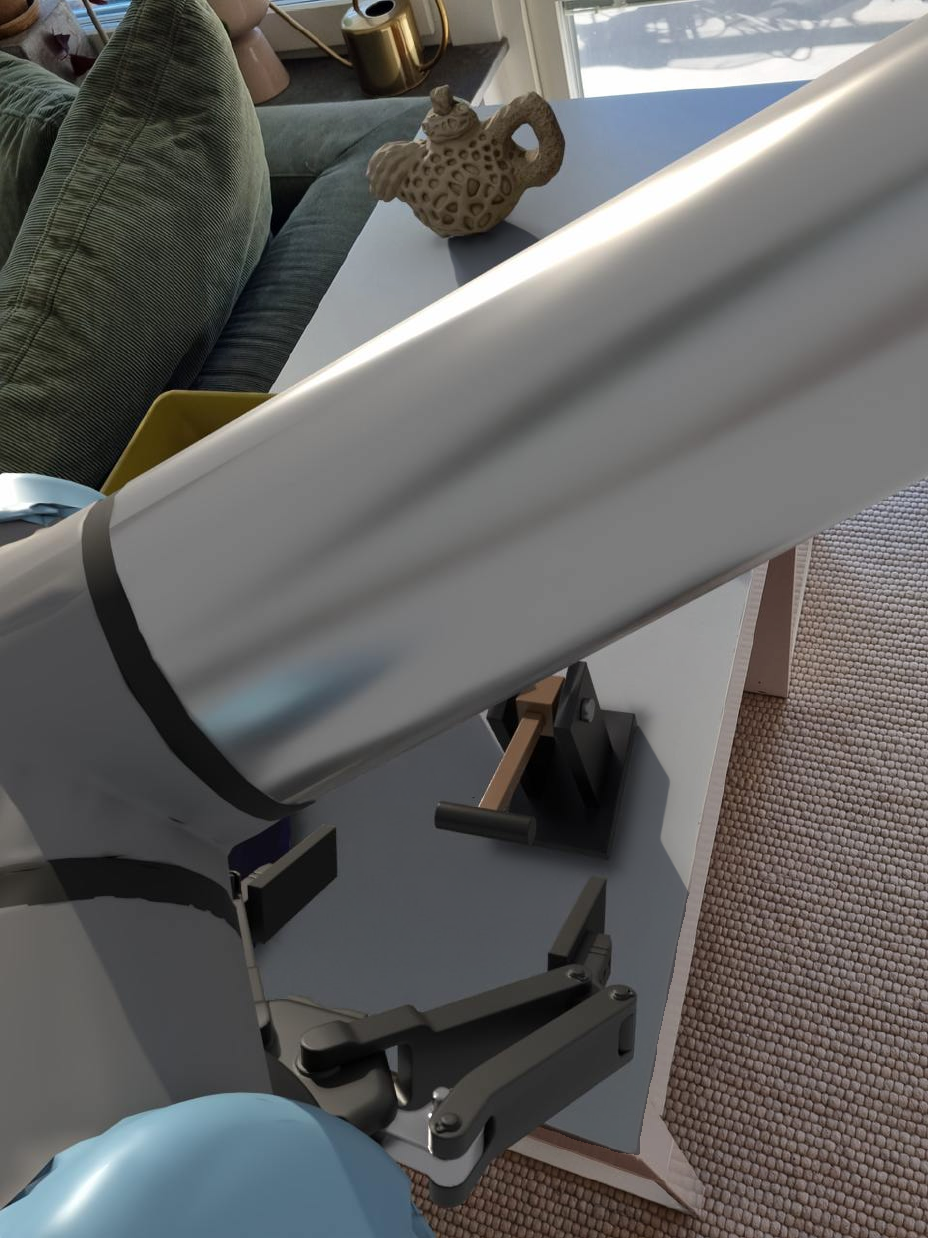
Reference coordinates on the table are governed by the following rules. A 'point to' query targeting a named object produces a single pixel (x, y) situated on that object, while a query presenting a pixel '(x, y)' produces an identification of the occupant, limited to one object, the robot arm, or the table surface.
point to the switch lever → (508, 773)
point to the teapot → (468, 163)
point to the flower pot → (178, 428)
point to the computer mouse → (261, 850)
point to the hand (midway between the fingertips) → (456, 875)
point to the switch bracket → (572, 768)
